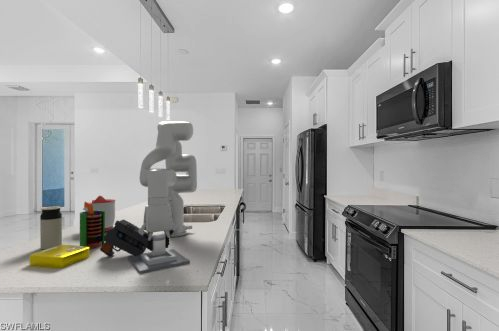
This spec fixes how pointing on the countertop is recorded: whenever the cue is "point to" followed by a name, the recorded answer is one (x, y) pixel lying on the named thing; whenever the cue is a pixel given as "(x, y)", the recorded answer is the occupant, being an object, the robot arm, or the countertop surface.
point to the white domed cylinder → (159, 244)
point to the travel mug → (50, 227)
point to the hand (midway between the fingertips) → (158, 248)
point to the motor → (92, 227)
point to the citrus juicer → (106, 206)
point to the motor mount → (157, 261)
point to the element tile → (59, 256)
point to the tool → (124, 239)
